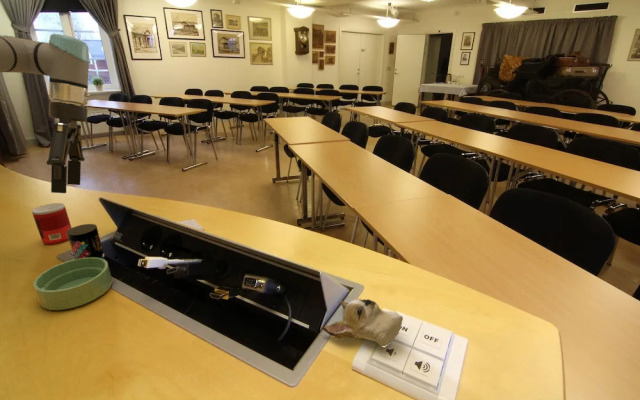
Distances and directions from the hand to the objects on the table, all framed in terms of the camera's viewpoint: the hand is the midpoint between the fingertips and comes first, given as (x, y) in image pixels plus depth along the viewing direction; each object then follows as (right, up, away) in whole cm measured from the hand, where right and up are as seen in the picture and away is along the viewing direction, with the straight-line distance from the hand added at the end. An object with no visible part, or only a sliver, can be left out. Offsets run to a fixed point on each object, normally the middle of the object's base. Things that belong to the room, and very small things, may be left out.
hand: (66, 188), depth 82 cm
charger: (+24, -17, +18) cm, 35 cm away
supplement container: (+1, -21, +8) cm, 22 cm away
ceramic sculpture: (+74, -31, -17) cm, 82 cm away
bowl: (+6, -25, -5) cm, 27 cm away
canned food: (-19, -16, +20) cm, 32 cm away
